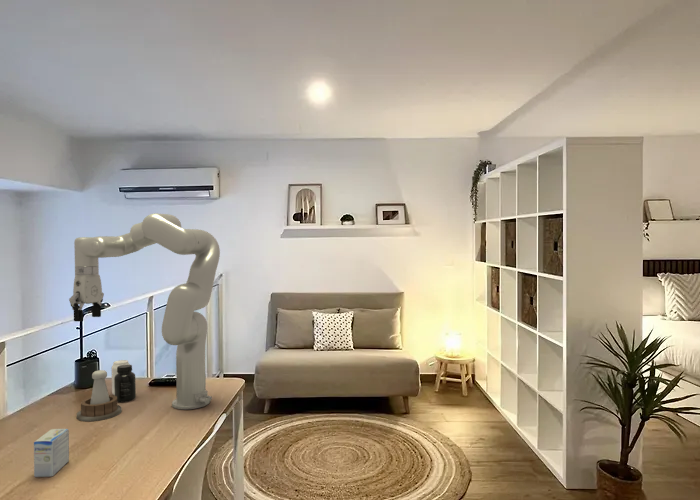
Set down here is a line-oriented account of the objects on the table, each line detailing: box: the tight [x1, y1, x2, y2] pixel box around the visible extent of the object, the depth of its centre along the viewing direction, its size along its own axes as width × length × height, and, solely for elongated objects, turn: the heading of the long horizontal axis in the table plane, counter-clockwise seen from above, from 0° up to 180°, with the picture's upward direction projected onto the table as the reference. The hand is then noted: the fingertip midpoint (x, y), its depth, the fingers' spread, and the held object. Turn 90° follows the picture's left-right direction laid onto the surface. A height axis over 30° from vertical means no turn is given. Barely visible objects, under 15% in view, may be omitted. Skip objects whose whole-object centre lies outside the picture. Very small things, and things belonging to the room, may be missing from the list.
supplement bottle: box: [114, 364, 137, 403], centre depth 171 cm, size 7×7×12 cm
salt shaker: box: [90, 369, 110, 404], centre depth 157 cm, size 6×6×13 cm
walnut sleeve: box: [76, 394, 123, 423], centre depth 157 cm, size 13×13×4 cm
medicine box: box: [33, 428, 70, 478], centre depth 119 cm, size 8×4×9 cm, turn 5°
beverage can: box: [111, 359, 131, 396], centre depth 177 cm, size 6×6×12 cm
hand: (87, 318), depth 173 cm, fingers open, 9 cm apart
